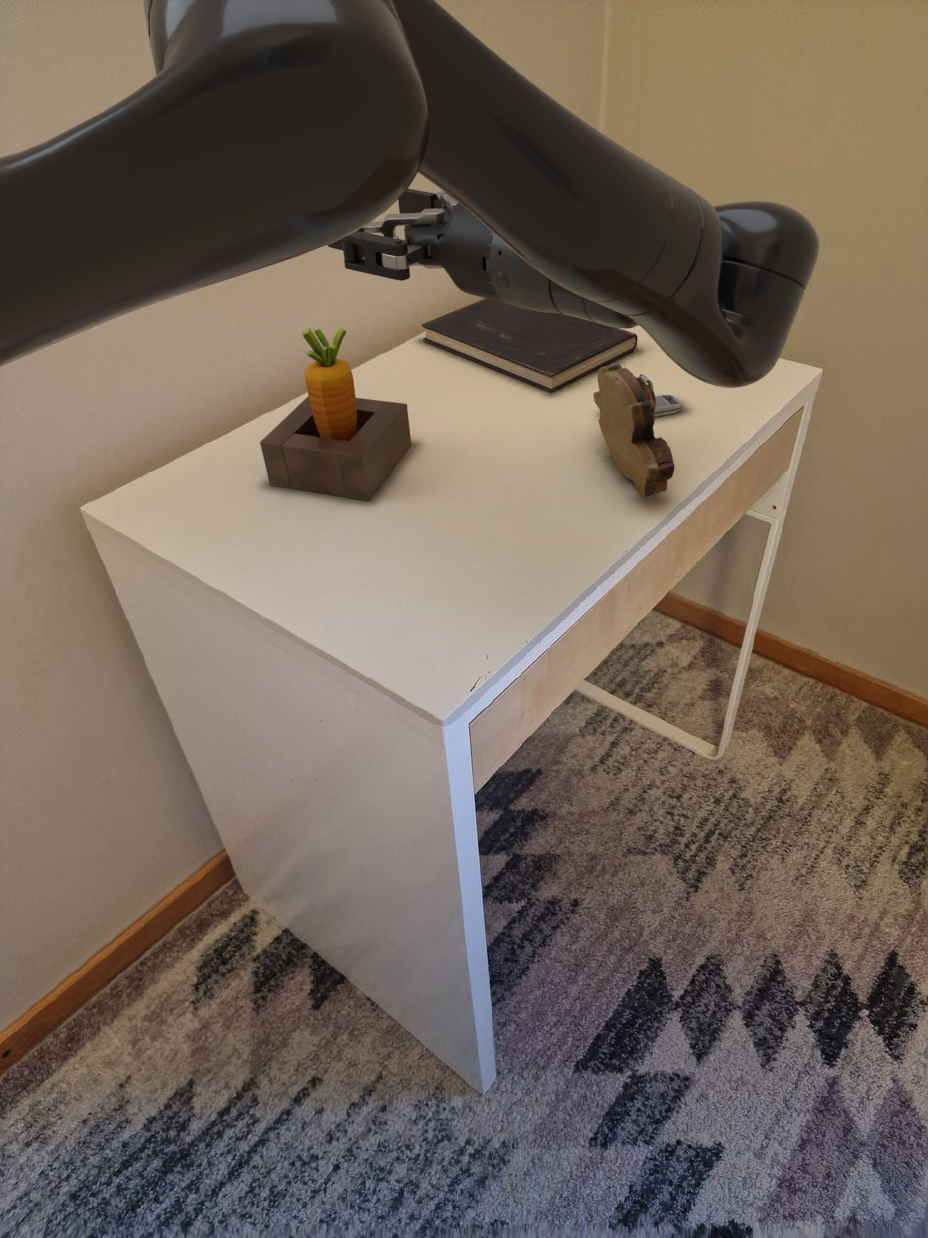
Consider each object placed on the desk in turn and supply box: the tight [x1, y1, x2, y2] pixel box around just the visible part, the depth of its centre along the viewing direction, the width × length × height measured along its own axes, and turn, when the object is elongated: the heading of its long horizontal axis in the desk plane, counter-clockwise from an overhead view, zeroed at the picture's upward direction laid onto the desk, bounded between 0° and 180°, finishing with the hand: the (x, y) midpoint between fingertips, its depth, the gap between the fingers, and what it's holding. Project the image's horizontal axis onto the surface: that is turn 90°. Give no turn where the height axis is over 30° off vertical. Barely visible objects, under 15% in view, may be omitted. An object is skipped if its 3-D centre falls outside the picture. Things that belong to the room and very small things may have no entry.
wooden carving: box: [593, 363, 676, 498], centre depth 83 cm, size 16×5×10 cm, turn 16°
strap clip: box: [638, 373, 683, 418], centre depth 94 cm, size 8×3×4 cm, turn 107°
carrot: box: [302, 327, 357, 441], centre depth 85 cm, size 5×5×15 cm
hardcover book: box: [421, 298, 638, 394], centre depth 110 cm, size 16×23×2 cm
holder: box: [259, 396, 412, 502], centre depth 88 cm, size 11×11×5 cm
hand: (365, 215), depth 69 cm, fingers open, 8 cm apart
